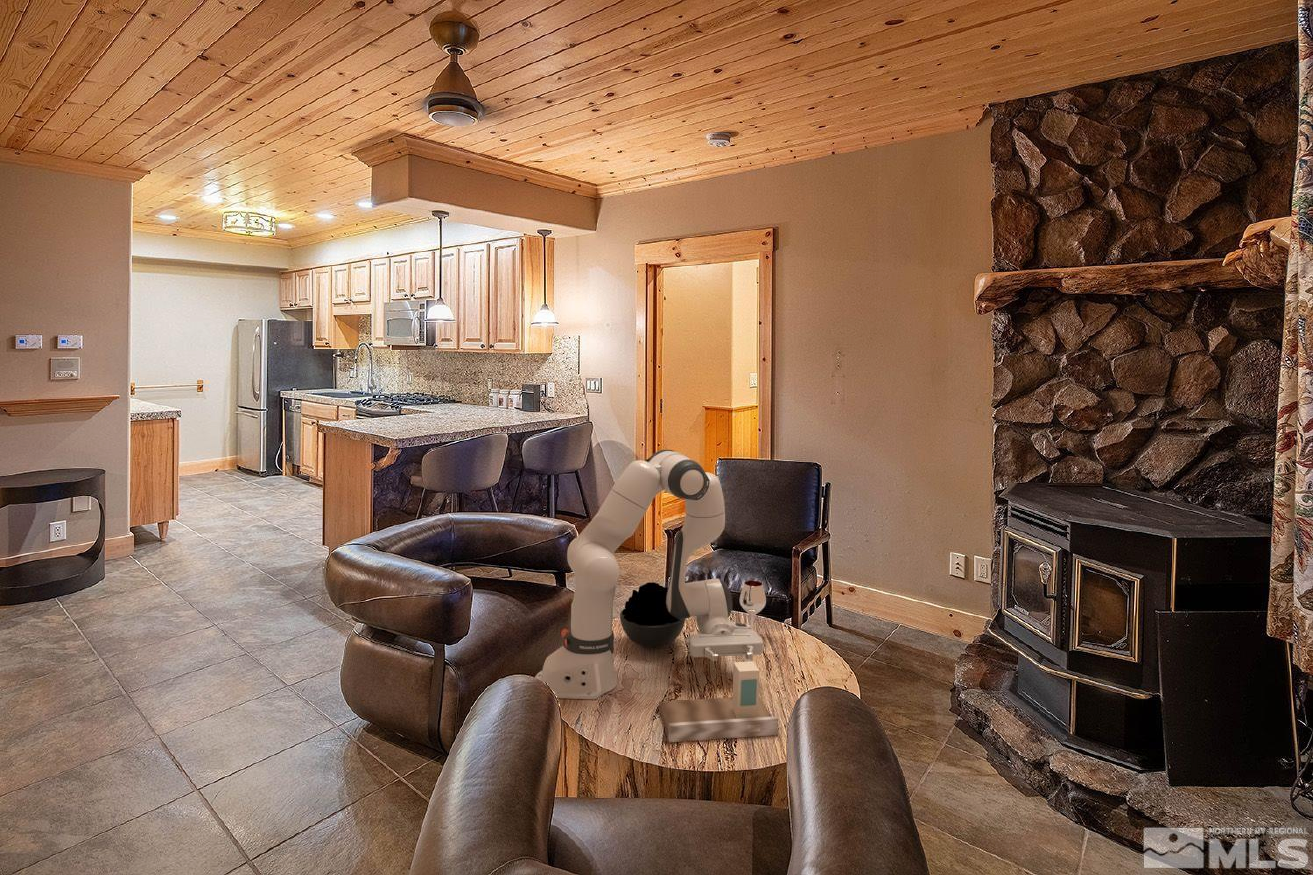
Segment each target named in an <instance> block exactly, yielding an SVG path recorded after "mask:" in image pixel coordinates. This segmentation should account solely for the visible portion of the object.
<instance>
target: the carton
mask: <svg viewBox="0 0 1313 875" xmlns="http://www.w3.org/2000/svg"><path fill="white" fill-rule="evenodd" d="M732 673H733V674H732V696H731V697H732V709H733V711H734V713H735V715H736V717H737V719H742V718H758V696H760V695H759V694H760V693H759V691H760V669H759V667H758V666H757V665H756V663H755V662H754V660H752V661H751V660H750V661H733V672H732Z"/></svg>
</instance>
